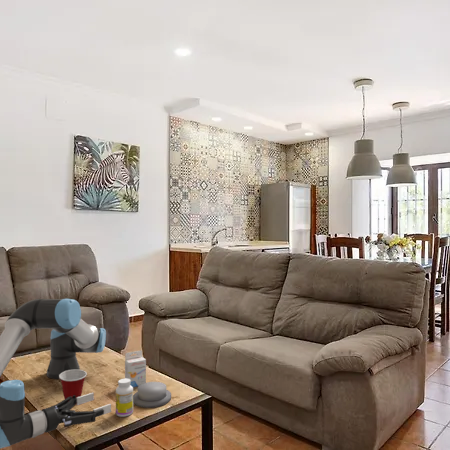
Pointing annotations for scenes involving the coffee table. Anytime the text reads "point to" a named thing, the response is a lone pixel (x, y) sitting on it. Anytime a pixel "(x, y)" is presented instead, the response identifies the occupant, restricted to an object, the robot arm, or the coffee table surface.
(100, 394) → the coffee table surface
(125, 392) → the supplement bottle
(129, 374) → the ink box
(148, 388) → the grey hat
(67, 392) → the plastic cup
